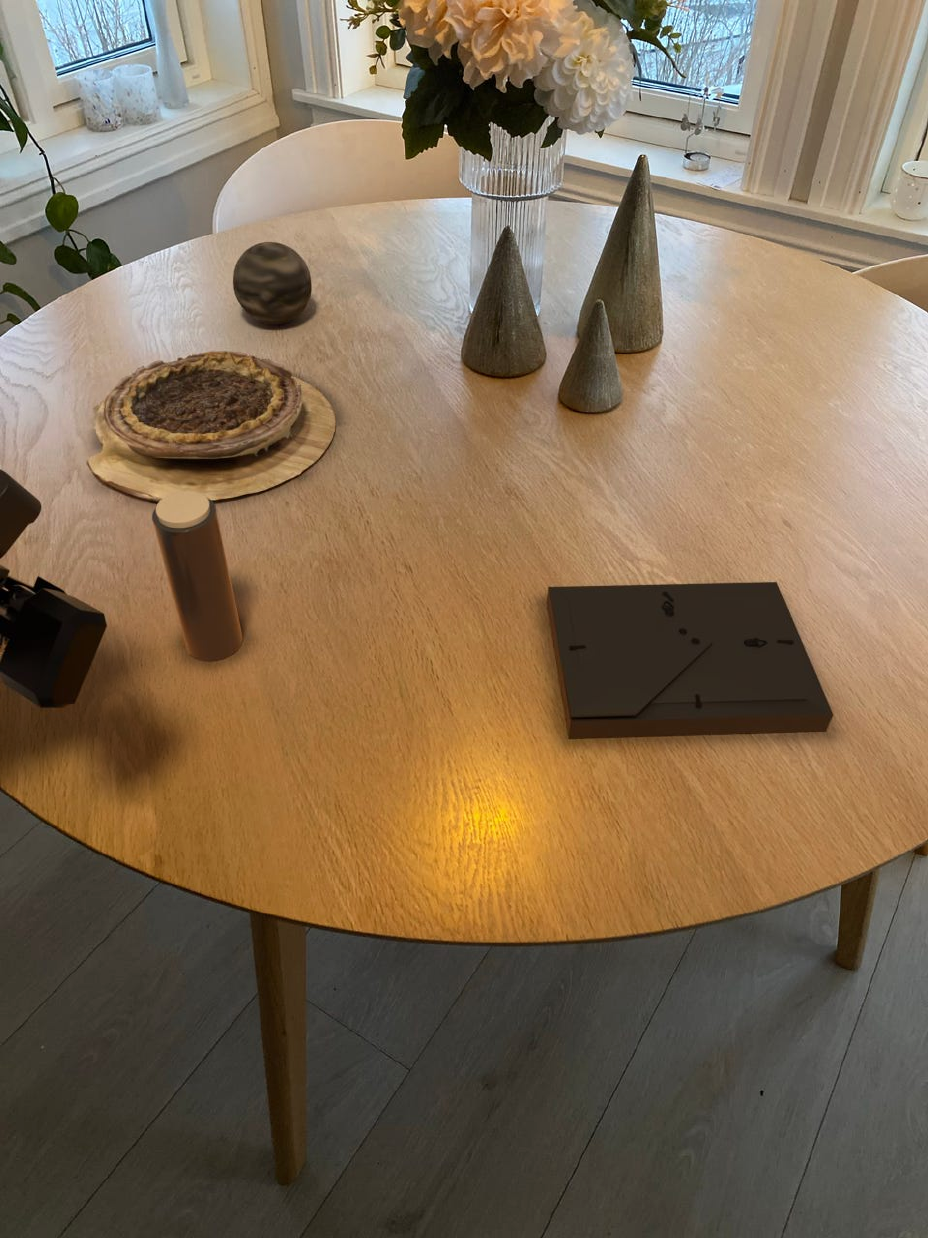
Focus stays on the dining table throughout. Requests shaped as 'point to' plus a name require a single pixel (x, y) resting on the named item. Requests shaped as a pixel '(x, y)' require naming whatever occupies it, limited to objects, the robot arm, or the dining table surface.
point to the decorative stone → (272, 283)
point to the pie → (209, 427)
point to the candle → (198, 574)
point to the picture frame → (682, 661)
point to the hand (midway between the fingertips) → (77, 617)
